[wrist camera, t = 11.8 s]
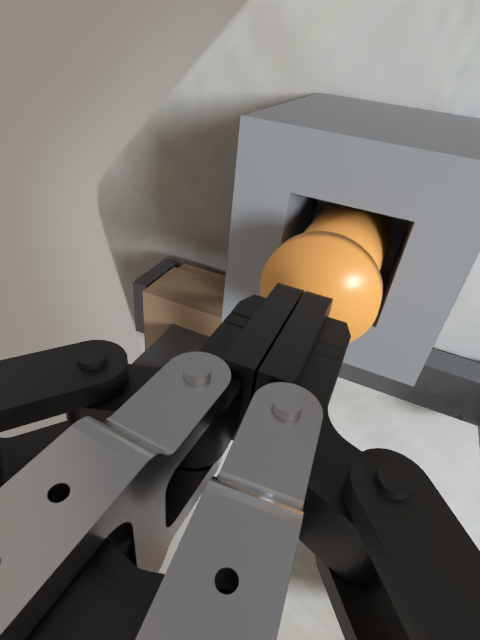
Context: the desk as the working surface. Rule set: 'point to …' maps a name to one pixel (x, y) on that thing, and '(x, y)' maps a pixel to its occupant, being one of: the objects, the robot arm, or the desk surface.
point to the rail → (429, 390)
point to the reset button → (336, 263)
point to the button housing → (364, 208)
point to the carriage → (180, 313)
